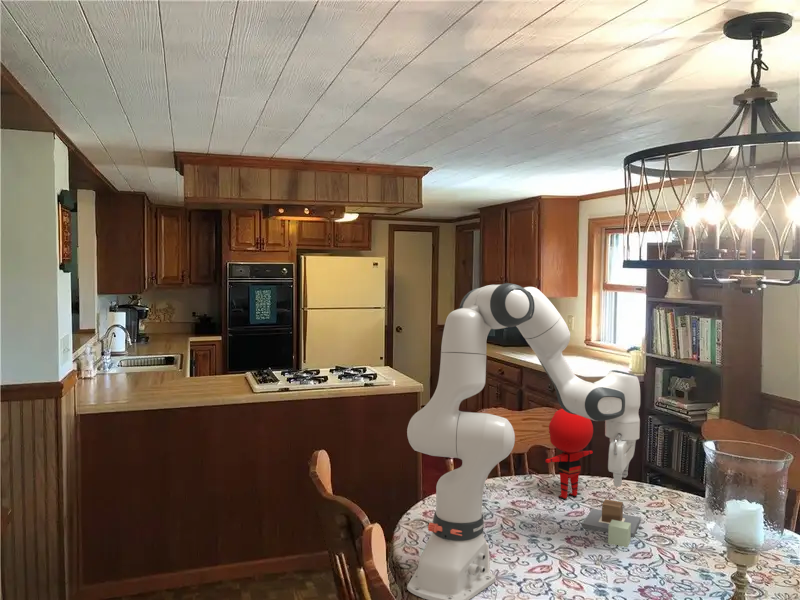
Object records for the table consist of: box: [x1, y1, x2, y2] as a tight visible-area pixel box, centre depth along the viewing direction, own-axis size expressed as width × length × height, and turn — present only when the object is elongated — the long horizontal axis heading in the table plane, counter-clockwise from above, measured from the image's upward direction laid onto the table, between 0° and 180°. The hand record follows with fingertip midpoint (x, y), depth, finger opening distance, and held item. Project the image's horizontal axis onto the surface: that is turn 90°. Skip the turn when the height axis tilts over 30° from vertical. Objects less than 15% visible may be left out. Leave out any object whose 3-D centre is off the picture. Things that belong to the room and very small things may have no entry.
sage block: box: [607, 520, 632, 548], centre depth 170 cm, size 5×5×5 cm
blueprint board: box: [581, 508, 642, 539], centre depth 182 cm, size 14×14×1 cm
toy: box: [545, 408, 594, 501], centre depth 204 cm, size 22×14×30 cm, turn 123°
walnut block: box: [601, 498, 624, 523], centre depth 182 cm, size 5×5×5 cm
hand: (620, 481), depth 169 cm, fingers open, 8 cm apart
